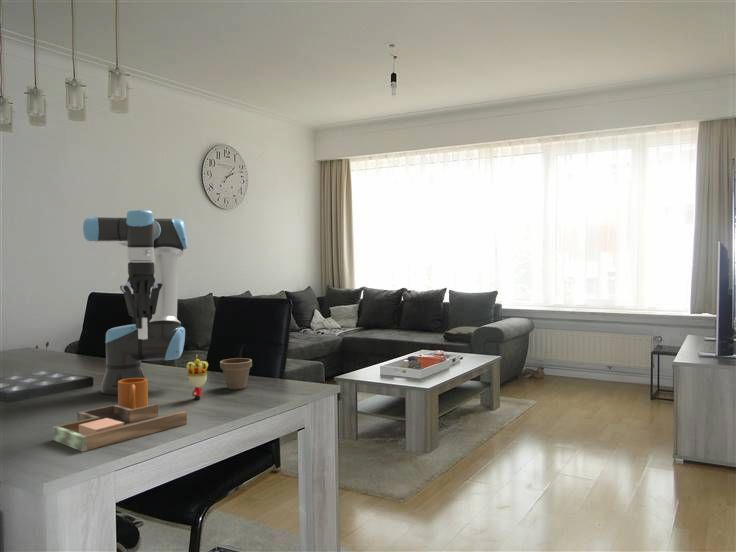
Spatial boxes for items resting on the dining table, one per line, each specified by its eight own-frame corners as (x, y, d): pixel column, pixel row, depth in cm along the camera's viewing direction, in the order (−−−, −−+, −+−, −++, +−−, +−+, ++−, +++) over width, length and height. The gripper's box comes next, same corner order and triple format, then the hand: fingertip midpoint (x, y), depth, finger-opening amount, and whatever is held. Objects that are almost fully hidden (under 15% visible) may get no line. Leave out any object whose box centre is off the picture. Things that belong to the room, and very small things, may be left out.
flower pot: (213, 389, 214) (213, 361, 214) (232, 383, 224) (231, 356, 224) (240, 392, 210) (240, 364, 209) (258, 385, 220) (257, 358, 220)
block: (78, 439, 157) (78, 424, 157) (107, 432, 163) (106, 417, 163) (96, 445, 152) (95, 429, 152) (124, 437, 159) (124, 422, 159)
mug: (111, 415, 180) (110, 385, 180) (122, 406, 192) (121, 378, 192) (142, 413, 181) (141, 384, 181) (151, 404, 193) (150, 376, 193)
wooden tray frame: (37, 433, 161) (36, 420, 161) (139, 410, 185) (138, 399, 185) (82, 451, 146) (82, 437, 146) (186, 424, 170) (186, 411, 170)
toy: (189, 396, 203) (188, 353, 203) (210, 396, 204) (210, 352, 204) (184, 401, 196) (183, 356, 196) (206, 401, 197) (206, 356, 196)
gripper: (128, 262, 172) (130, 343, 174) (167, 261, 182) (168, 337, 184) (114, 261, 176) (116, 340, 178) (153, 260, 187) (154, 334, 188)
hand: (142, 338), depth 181 cm, fingers closed
